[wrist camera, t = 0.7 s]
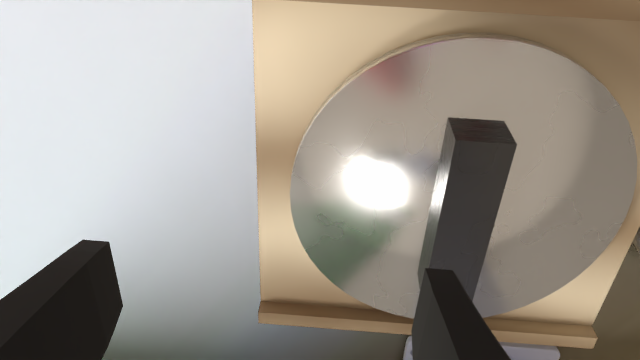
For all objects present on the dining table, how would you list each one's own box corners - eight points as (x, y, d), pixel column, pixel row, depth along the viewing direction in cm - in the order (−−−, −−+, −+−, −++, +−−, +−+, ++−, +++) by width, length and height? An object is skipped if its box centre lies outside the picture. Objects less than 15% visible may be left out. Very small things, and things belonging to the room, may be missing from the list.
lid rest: (549, 262, 24) (591, 350, 20) (275, 242, 25) (258, 324, 20) (663, -38, 17) (766, -1, 13) (274, -59, 17) (247, -30, 13)
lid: (568, 319, 19) (588, 363, 18) (290, 298, 20) (283, 339, 18) (688, 44, 14) (734, 71, 12) (294, 21, 14) (285, 43, 12)
